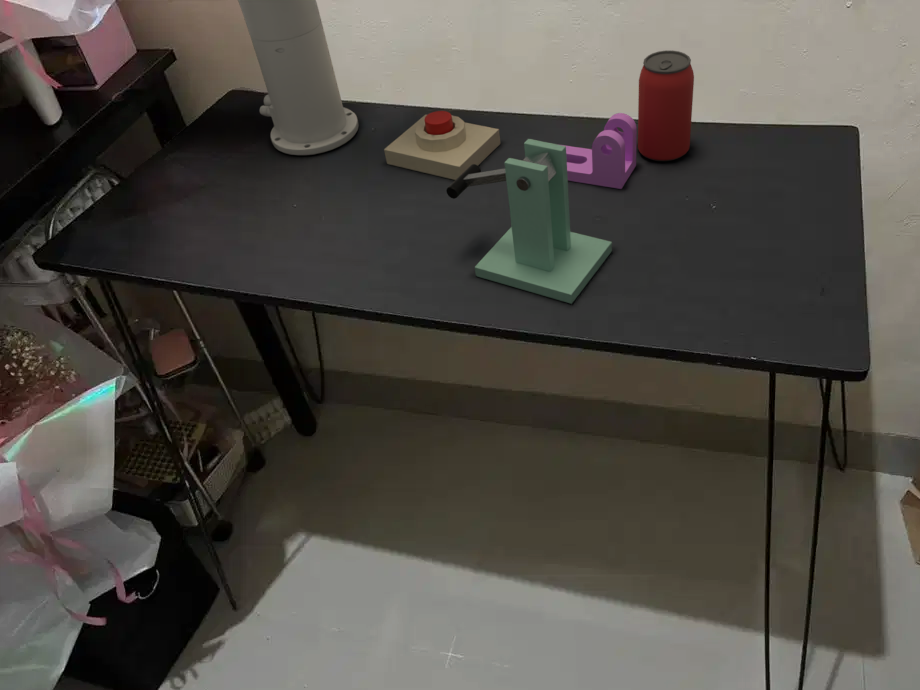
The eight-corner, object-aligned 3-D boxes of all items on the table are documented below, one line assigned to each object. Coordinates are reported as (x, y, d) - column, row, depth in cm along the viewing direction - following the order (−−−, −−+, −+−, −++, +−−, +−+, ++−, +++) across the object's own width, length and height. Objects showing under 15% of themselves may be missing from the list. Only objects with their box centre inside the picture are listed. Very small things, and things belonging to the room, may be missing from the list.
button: (421, 133, 110) (418, 121, 109) (436, 120, 112) (434, 108, 111) (443, 138, 109) (441, 126, 107) (458, 125, 111) (456, 113, 109)
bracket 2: (636, 165, 106) (636, 115, 101) (621, 189, 103) (621, 137, 98) (541, 151, 111) (538, 102, 106) (524, 173, 107) (520, 123, 102)
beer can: (631, 160, 107) (632, 70, 98) (645, 134, 111) (647, 46, 103) (682, 166, 105) (688, 75, 96) (694, 140, 109) (701, 50, 100)
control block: (387, 163, 113) (381, 137, 110) (428, 128, 118) (423, 102, 115) (461, 181, 108) (457, 153, 105) (500, 143, 113) (497, 116, 110)
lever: (451, 203, 91) (442, 184, 90) (475, 179, 94) (466, 160, 93) (540, 191, 83) (531, 170, 82) (563, 166, 86) (554, 145, 85)
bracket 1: (475, 276, 93) (458, 167, 84) (519, 227, 99) (508, 120, 89) (571, 304, 88) (565, 192, 79) (612, 251, 94) (611, 140, 84)
